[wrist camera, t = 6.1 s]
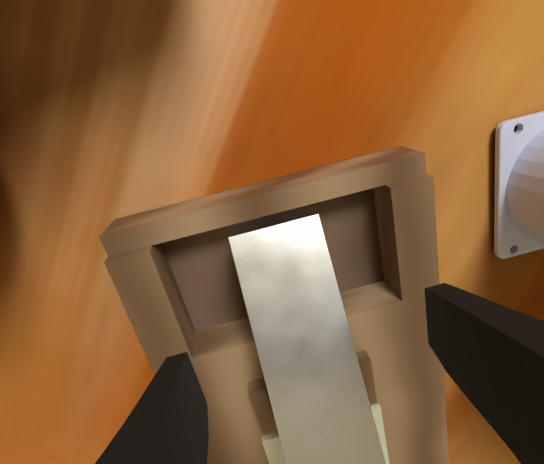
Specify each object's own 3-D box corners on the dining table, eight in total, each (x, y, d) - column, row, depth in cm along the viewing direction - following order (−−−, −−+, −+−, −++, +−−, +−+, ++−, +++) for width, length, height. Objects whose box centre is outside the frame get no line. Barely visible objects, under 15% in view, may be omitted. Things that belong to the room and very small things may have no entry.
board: (400, 146, 18) (442, 158, 15) (427, 456, 27) (458, 509, 24) (114, 219, 18) (88, 249, 14) (238, 511, 27) (240, 574, 23)
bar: (309, 220, 18) (318, 213, 15) (367, 433, 18) (387, 469, 15) (233, 240, 18) (228, 237, 15) (289, 455, 18) (294, 496, 15)
